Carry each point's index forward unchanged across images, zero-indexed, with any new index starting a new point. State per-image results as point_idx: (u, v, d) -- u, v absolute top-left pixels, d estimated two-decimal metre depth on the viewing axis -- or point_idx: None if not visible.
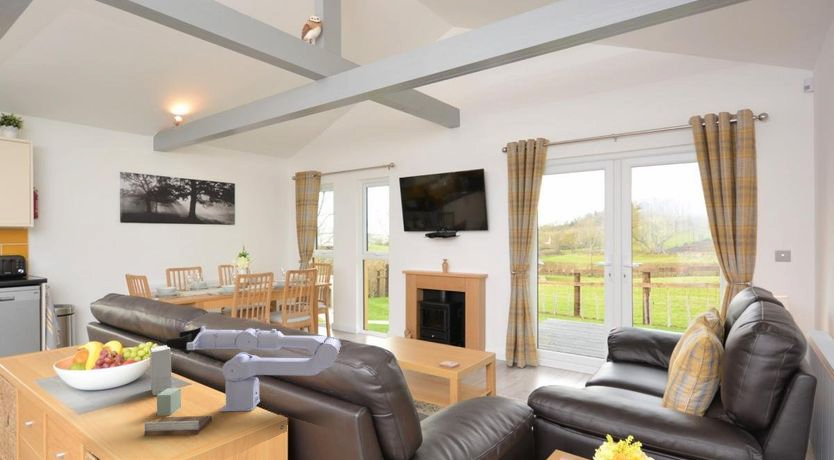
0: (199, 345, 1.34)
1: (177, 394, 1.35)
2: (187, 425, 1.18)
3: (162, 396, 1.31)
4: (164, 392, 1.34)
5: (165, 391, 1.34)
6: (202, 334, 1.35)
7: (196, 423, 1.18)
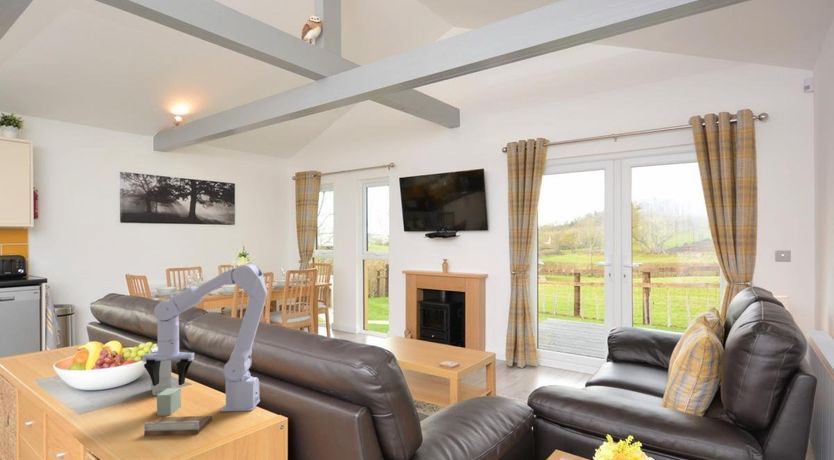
0: (179, 353, 1.35)
1: (177, 394, 1.35)
2: (187, 425, 1.18)
3: (162, 396, 1.31)
4: (164, 392, 1.34)
5: (165, 391, 1.34)
6: (171, 354, 1.32)
7: (196, 423, 1.18)
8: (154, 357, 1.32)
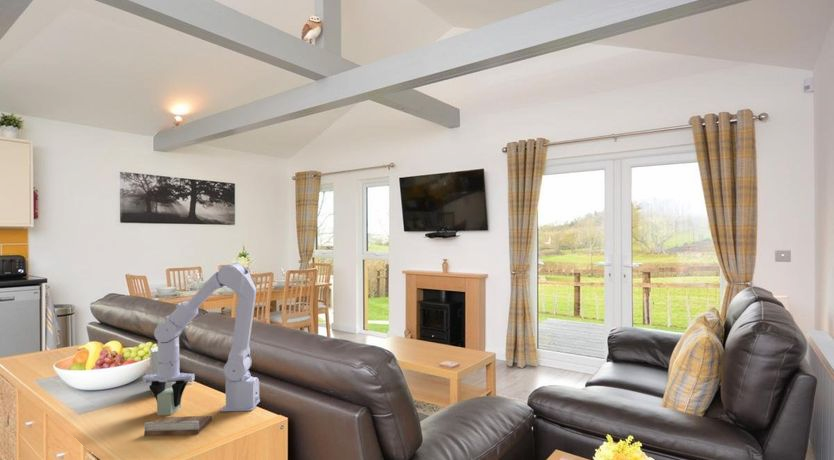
0: (180, 374, 1.35)
1: None
2: (187, 425, 1.18)
3: (162, 396, 1.31)
4: (164, 392, 1.34)
5: (165, 391, 1.34)
6: (171, 376, 1.32)
7: (196, 423, 1.18)
8: (154, 379, 1.32)
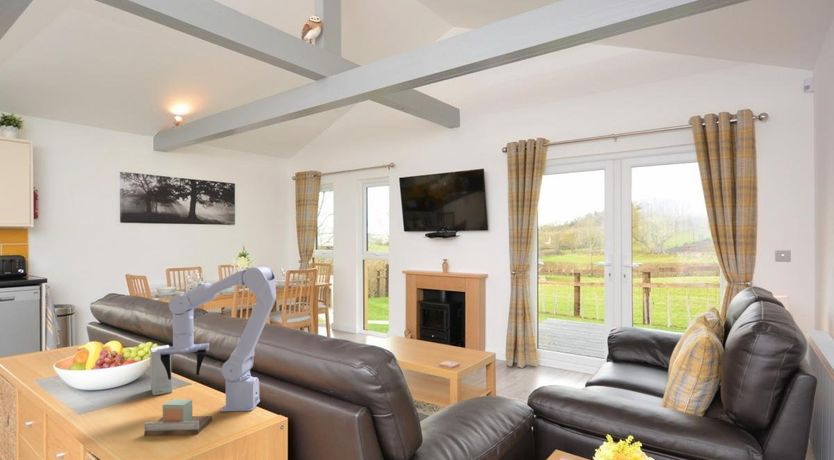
0: None
1: None
2: (187, 425, 1.18)
3: (187, 404, 1.22)
4: (177, 403, 1.21)
5: (174, 403, 1.21)
6: (190, 346, 1.37)
7: (196, 423, 1.18)
8: (172, 351, 1.34)
